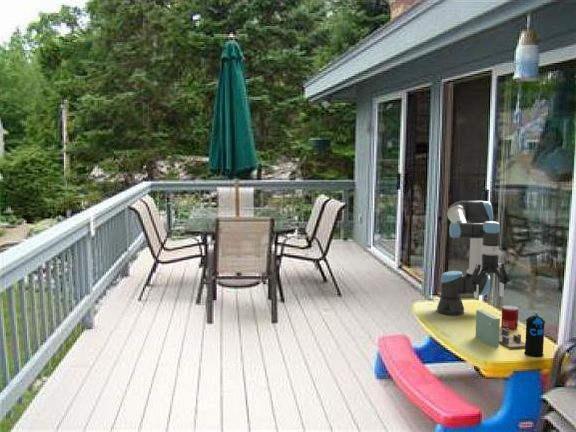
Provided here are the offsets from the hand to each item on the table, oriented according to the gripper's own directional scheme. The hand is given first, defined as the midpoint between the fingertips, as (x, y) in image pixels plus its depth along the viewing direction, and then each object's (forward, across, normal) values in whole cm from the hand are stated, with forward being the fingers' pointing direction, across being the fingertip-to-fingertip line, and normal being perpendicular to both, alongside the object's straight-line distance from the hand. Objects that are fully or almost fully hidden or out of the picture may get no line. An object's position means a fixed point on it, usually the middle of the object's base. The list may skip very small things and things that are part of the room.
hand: (488, 297), depth 284 cm
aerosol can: (+23, +12, -20) cm, 32 cm away
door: (+22, 0, 0) cm, 23 cm away
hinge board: (+22, +10, 0) cm, 24 cm away
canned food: (+23, +24, +18) cm, 38 cm away
